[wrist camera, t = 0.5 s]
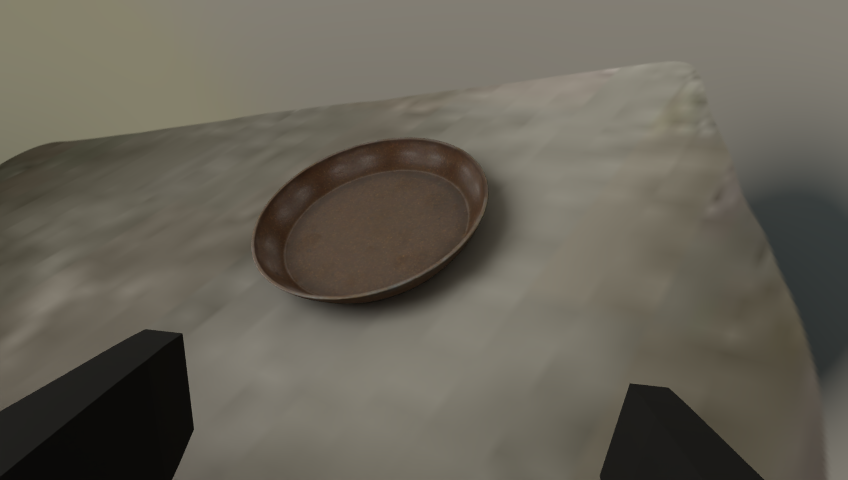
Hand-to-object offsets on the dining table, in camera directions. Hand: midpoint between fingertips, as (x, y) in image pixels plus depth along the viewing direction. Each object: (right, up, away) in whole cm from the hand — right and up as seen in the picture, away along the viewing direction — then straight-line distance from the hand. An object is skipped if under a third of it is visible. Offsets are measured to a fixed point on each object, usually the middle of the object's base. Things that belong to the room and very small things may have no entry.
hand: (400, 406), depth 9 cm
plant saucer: (-3, +3, +33) cm, 33 cm away
